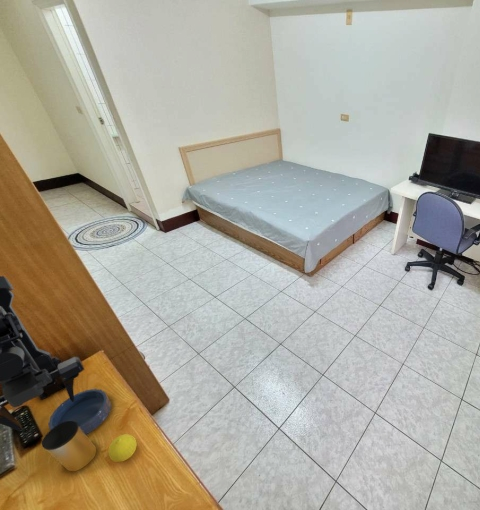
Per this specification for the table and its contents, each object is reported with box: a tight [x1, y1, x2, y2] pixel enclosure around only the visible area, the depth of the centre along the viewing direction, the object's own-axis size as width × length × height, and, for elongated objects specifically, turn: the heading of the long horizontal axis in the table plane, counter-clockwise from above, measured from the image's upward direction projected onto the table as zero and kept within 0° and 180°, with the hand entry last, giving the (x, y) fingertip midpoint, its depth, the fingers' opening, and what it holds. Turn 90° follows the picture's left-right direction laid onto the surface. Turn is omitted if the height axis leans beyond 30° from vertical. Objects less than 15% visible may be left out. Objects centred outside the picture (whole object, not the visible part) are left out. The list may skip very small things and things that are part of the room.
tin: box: [41, 421, 97, 472], centre depth 66 cm, size 6×6×12 cm
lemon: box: [108, 433, 138, 463], centre depth 68 cm, size 6×6×8 cm
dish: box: [48, 388, 112, 436], centre depth 76 cm, size 12×12×4 cm
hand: (48, 414), depth 64 cm, fingers open, 9 cm apart
